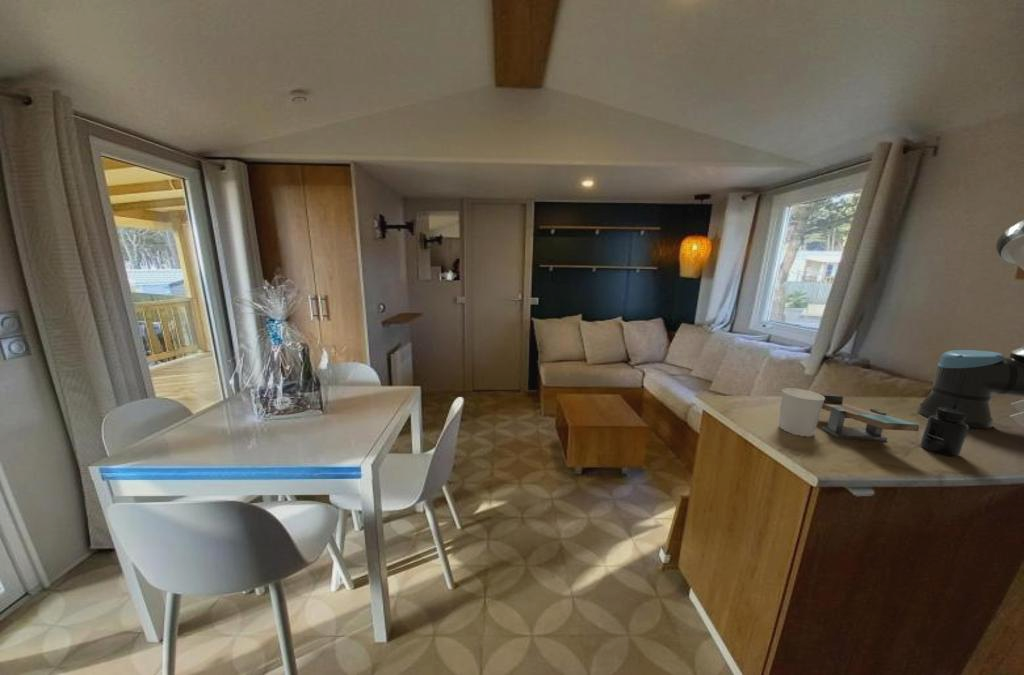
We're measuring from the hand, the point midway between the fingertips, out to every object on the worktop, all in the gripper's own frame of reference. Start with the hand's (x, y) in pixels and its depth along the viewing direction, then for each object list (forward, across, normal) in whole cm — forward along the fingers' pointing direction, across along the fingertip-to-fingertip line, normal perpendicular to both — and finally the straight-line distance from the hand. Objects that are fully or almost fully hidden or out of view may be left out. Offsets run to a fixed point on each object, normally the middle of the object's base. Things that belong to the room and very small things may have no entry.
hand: (1015, 414), depth 81 cm
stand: (+28, -8, +8) cm, 30 cm away
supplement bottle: (+17, 0, -4) cm, 17 cm away
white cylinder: (+35, -19, +15) cm, 43 cm away
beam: (+24, -8, +12) cm, 27 cm away
